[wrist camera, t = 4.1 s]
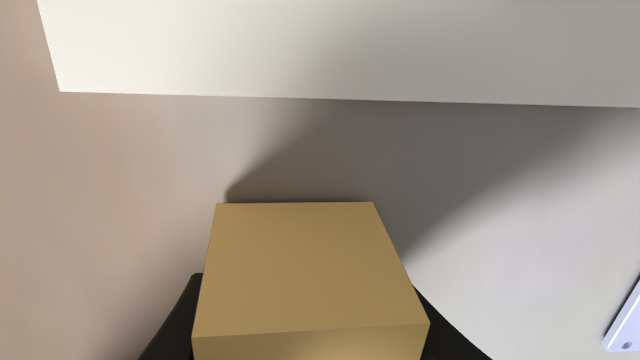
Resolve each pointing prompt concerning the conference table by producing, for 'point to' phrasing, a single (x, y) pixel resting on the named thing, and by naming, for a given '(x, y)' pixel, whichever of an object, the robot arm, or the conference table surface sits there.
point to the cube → (305, 286)
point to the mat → (352, 49)
